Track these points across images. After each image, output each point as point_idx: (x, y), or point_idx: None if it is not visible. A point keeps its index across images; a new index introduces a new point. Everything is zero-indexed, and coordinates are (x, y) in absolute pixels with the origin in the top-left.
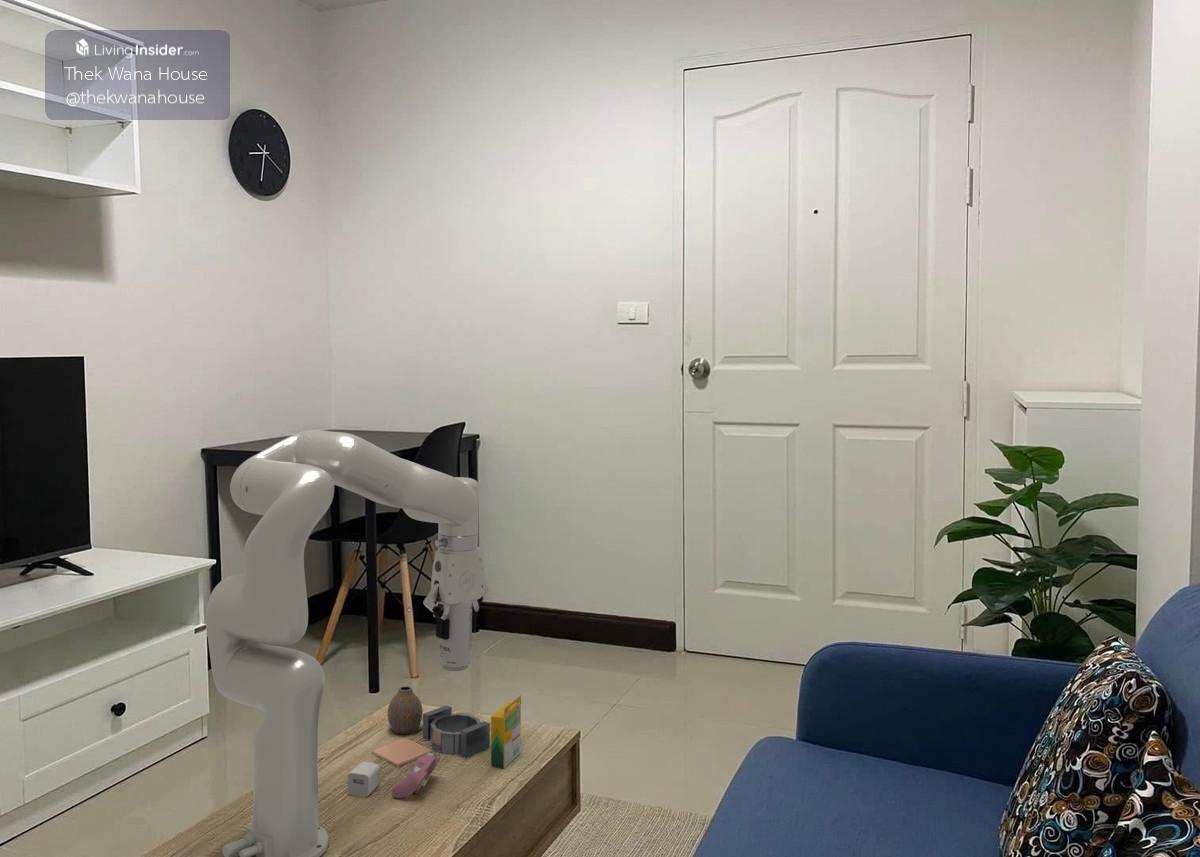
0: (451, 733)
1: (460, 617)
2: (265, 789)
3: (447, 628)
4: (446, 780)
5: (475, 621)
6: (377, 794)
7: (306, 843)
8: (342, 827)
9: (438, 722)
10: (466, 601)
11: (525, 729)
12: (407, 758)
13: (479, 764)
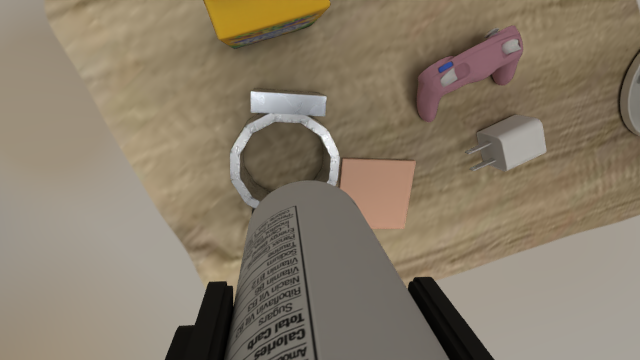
0: (328, 137)
1: (421, 354)
2: None
3: (458, 321)
4: (405, 54)
5: (198, 330)
6: (499, 110)
7: None
8: (598, 69)
9: None
10: None
11: (126, 94)
12: (391, 166)
13: (319, 51)
